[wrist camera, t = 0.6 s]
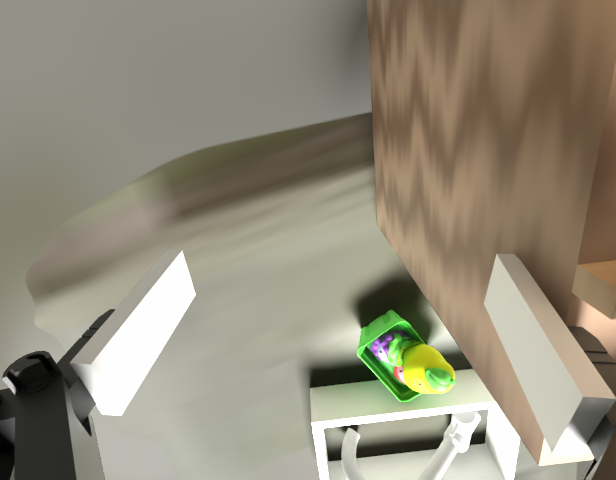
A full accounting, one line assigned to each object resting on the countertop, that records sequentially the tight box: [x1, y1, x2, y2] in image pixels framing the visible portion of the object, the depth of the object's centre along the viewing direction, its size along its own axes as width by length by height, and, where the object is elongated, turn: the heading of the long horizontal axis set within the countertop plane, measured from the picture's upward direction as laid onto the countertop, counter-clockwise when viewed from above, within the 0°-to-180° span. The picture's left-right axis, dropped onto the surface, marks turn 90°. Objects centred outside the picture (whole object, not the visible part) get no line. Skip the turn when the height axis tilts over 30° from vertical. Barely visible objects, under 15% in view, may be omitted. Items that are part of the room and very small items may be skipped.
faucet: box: [341, 410, 481, 480], centre depth 52 cm, size 14×11×20 cm
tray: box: [310, 369, 520, 480], centre depth 51 cm, size 17×28×6 cm, turn 97°
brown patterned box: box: [367, 0, 616, 466], centre depth 23 cm, size 26×14×32 cm, turn 7°
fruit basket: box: [357, 310, 456, 402], centre depth 43 cm, size 11×9×11 cm
